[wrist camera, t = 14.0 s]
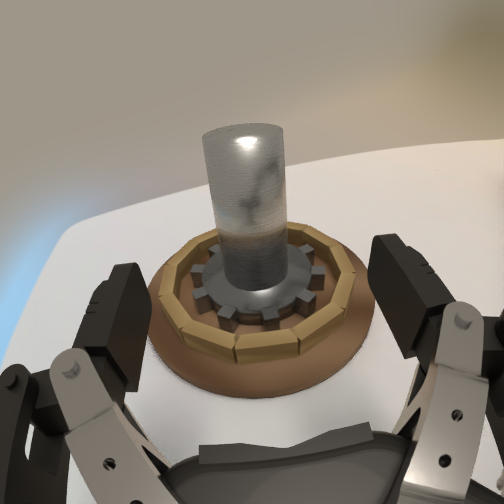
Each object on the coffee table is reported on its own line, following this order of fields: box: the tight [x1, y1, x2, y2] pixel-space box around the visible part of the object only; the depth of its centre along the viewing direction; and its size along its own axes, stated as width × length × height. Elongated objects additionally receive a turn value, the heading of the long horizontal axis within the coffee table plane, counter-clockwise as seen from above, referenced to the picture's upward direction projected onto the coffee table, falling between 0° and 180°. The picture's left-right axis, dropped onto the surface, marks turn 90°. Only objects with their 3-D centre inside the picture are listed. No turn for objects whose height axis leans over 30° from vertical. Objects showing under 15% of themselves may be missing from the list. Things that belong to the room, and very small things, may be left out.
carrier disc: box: [148, 222, 375, 399], centre depth 22 cm, size 17×17×3 cm
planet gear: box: [190, 123, 325, 334], centre depth 19 cm, size 9×9×11 cm
